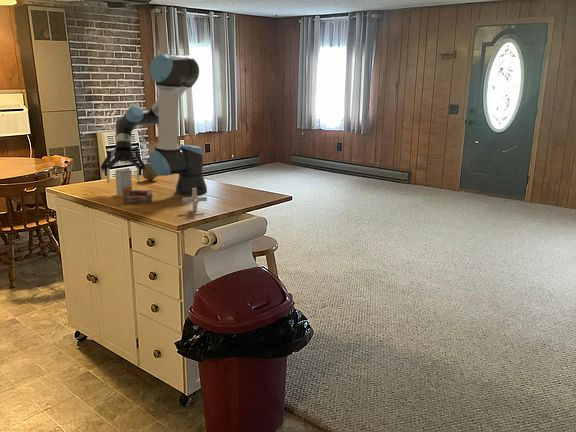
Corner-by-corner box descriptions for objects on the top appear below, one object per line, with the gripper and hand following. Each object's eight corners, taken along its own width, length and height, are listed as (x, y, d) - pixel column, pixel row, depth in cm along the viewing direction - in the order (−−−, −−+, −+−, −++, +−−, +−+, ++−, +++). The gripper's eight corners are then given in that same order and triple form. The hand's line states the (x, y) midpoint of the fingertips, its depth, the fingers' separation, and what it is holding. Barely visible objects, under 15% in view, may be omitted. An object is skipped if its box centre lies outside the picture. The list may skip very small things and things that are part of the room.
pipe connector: (208, 213, 211) (207, 190, 208) (184, 214, 208) (183, 191, 206) (205, 207, 220) (204, 185, 218) (182, 208, 218) (181, 186, 215)
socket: (152, 196, 239) (152, 189, 238) (151, 203, 226) (151, 196, 225) (126, 196, 236) (125, 190, 235) (123, 204, 223) (123, 197, 222)
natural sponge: (162, 179, 277) (161, 161, 274) (156, 182, 268) (155, 164, 266) (146, 178, 278) (145, 160, 275) (140, 181, 269) (138, 163, 267)
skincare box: (121, 196, 237) (120, 171, 234) (116, 194, 240) (114, 170, 237) (132, 194, 242) (131, 169, 239) (127, 192, 244) (125, 168, 241)
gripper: (150, 149, 253) (150, 184, 243) (97, 149, 248) (96, 185, 238) (149, 139, 247) (150, 175, 237) (95, 140, 241) (94, 177, 231)
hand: (123, 180), depth 237 cm, fingers open, 13 cm apart
